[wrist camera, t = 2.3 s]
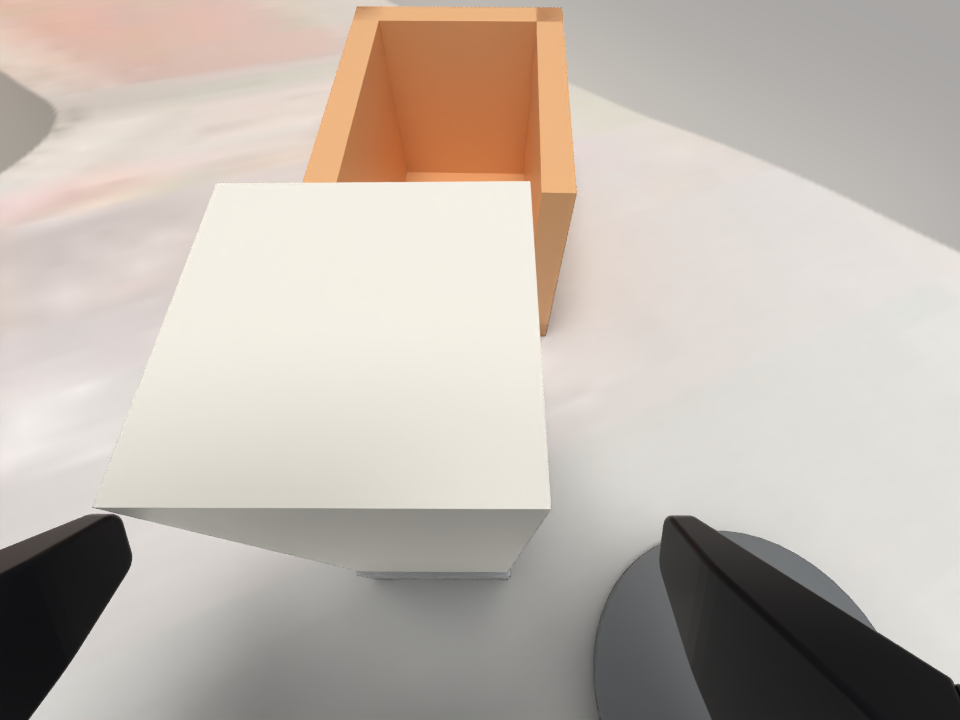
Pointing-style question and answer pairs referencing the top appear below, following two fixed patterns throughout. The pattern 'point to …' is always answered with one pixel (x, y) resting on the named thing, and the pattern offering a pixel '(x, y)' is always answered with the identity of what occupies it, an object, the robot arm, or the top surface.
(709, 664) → the robot arm
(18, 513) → the top surface
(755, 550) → the pad dark
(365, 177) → the chute
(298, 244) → the tall white pillar block
